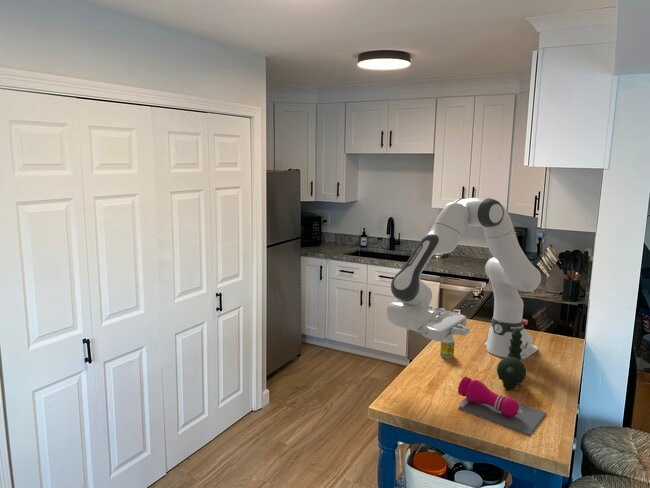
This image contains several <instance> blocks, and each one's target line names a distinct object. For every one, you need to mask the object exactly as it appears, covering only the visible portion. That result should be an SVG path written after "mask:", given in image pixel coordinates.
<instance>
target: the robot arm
mask: <svg viewBox="0 0 650 488" xmlns="http://www.w3.org/2000/svg"><path fill="white" fill-rule="evenodd" d="M467 227H471V228H482V230H483V234H484V238H485V241H486V243H487V246H488V250H489V253H490V254H491V256H493V257H491V258H489V259H488V260H487V261H486V263H485V266H484V272H485V275H486V276H487V277H488V279H489V281H490V283H491V284H490V285H491V288H492V292H493V299H494V301H493V303H494V304H493V316H492V319H491V326H490V327H489V330H488V335H487V341H485V342H484V345H485V347H486V352H488V353H490V354H492V355H494V356H497V357H500V358H506V357H508V354H509V347H510V346H511V343H510V339H512V333H513V330H514V329H515V328H518V329H519V330H520V333H521V334H522V337H521V341H522V342H523V343H522V344H521V346H520V347H521V349H522V352H521V353H520V355H521V360H527V359H528V358H529V357H531V356H532V355H534V353H536V352H538V350H539V347H538V346H537V345H535V344H533V336H532V334H531V333H529V332H528V331H527V330H526V329H525V326H527V325H528V323H529V321H528V319H525V318H523V315H524V305H525V304H524V300H523V298H522V297H521V296H520V294H519V291H521V292H533V291H535V290H536V289H538V287H539V285H540V284H541V282H542V275H541V272H540V270H539V269H538V268H537V267H536V266H535V265H534V264H533V263H532V262H531V261H530V259H529V258H528V257H527V255H526V254H525V252H524V250H523V249H522V248H521V246H520V243H519V240H518V237H517V234H516V231H515V227H514V225H513V222H512V219H511V216H510V214H509V212H508V211H507V209H506V207H505V206H504V205H502V203H501V202H500V201H498V200H496V199H493V198H489V197H488V198H484V197H468V198H465V197H462V198H458V199H456V200H454V201H451V202H448V203H446V204H445V206H444V207H443V208H442V210H441V211H440V212H439V214H438V216H437V217H436V219H435V221H434V223H433V224H432V227H431V229H430V230H429V232H428V233H427V234H426V235H424V236H423V237H422V239H421V240H420V241H419V242H418V244H417V246H416V247H415V249H414V250H413V251H412V253H411V254H410V257H409V258H408V260H407V261H406V262H405V264H404V266H403V267H402V268H401V269H400V270H399V271H398V272H397V273H396V274H395V275H394V276H393V278H392V280H391V283H390V292H391V293H392V294H393V296H394V298H396V299H395V300H394V301H392V302H389V304H388V306H387V309H386V317H387V319H388V321H389V323H391V325H393V326H396V327H397V328H401V329H404V330H408V331H414V332H417V333H418V334H421V335H422V336H423V337H424V338H426V339H429V340H433V341H435V342H441V341H442V340H444V339H446V338H447V337H449V336H450V335H452V334H453V336H454V335H455V336H456V335H457V336H467V335H469V334H470V332H471V329H470V328H469V327H466V326H467V316H466V315H464V314H461V313H458V312H454V311H449V310H446V308H442V307H440V308H439V307H438V308H429V306H430V304H431V301H432V299H433V292H432V290H431V288H430V287H429V286H428V285H427V284H426V283H425V282H424V281H422V280H421V275H422V273H423V271H424V270H425V268H426V267H427V265H428V263H429V261H430V259H432V258H433V256H435V255H438V254H441V255H445V254H449V253H452V252H453V251H454V250H455V249H456V248H457V246H458V245H459V243H460V241H461V239H462V237H463V235H464V232H465V229H466V228H467ZM524 325H525V326H524Z"/></svg>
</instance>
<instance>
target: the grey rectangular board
mask: <svg viewBox="0 0 650 488" xmlns="http://www.w3.org/2000/svg"><path fill="white" fill-rule="evenodd" d="M518 404H519V409H521V410H522V411H523V414H522V415H518V414H517V415H516V416H514V417H512V418H509V417H506V416H504V415H503V414H502V412H501V411H498V410H495V408H494V407H492V406H490V405H487V404H479V403H473V402H469V403H468V404H467V405H465V406H464V407H460V405H459V406H458V407H457V408H458V410H459V411H462V412H465V413H467V414H469V415H473V416H475V417H478V418H480V419H483V420H486V421H489V422H491V423H494V424H495V425H500V426H502V427H505V428H506V429H507V428H508V429H509V430H510V429H511V430H513V431H515V432H518V433H521V434H524V435H525V436H528V437H529V436H531V435H532V434H533V432H534V430H535V429H536V428H537V427H538V425H540V423H541V421H542V420H543V419H544V418H545V416H546V415H547V412H545V411H543V410H540V409H537V408H534V407H532V406H528V405H525V404H522V403H519V402H518Z"/></svg>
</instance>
